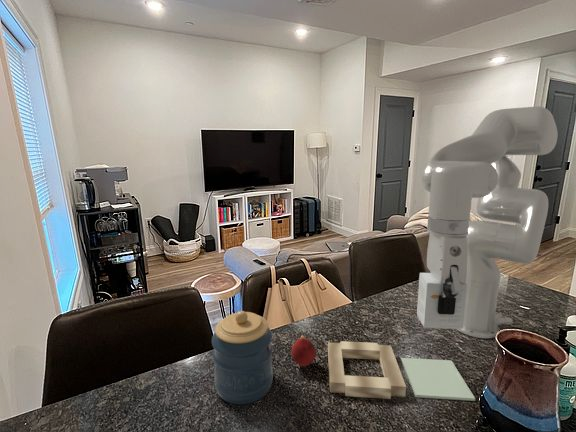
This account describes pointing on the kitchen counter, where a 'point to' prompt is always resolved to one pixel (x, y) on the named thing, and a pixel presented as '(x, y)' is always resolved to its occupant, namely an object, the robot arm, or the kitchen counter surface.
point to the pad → (436, 379)
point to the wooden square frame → (362, 384)
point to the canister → (242, 358)
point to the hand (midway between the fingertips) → (440, 305)
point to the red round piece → (303, 351)
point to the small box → (429, 304)
